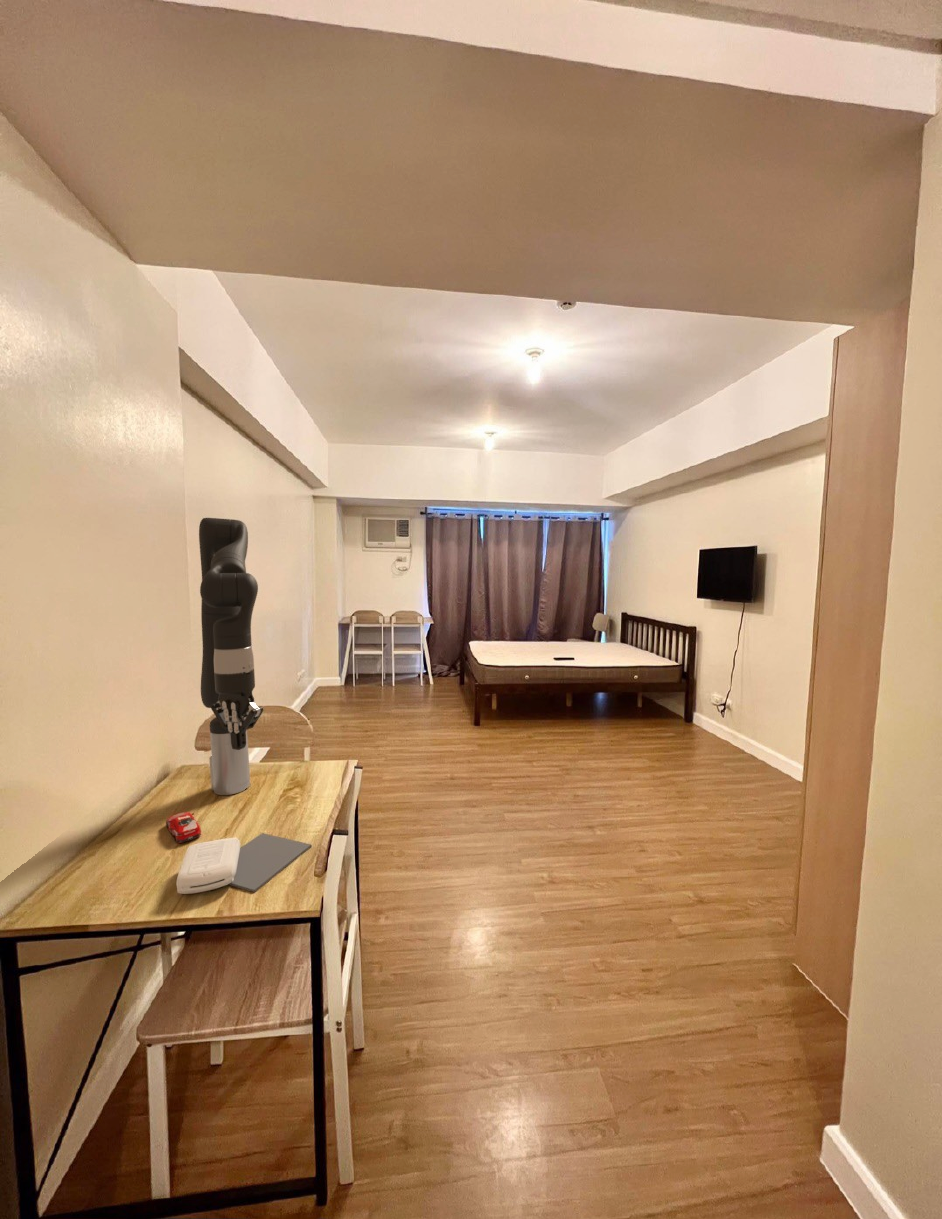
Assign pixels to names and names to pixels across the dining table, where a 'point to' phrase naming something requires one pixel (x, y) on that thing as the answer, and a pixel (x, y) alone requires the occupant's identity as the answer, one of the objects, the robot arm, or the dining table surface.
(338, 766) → the dining table surface
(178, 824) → the race car
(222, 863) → the photo printer
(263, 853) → the gray mat
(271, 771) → the dining table surface
